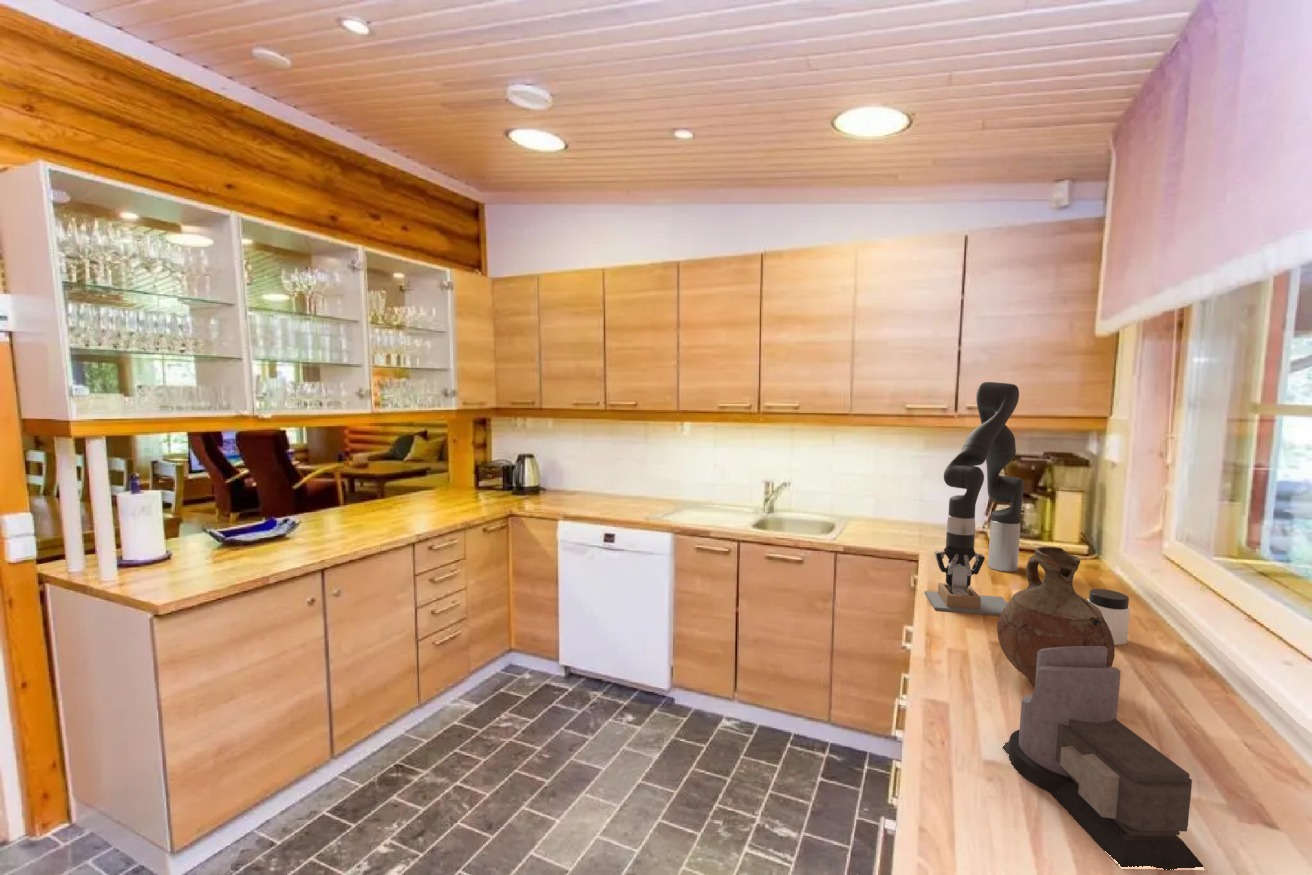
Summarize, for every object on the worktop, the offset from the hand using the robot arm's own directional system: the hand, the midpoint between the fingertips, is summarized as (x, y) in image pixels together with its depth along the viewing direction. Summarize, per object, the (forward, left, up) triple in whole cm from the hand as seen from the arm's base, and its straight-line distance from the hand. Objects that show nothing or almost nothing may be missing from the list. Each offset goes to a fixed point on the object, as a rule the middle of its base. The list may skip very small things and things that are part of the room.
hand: (957, 585), depth 177 cm
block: (+2, 0, -3) cm, 4 cm away
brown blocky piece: (+86, -2, -5) cm, 86 cm away
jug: (+48, +7, -5) cm, 48 cm away
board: (+2, +3, -5) cm, 6 cm away
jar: (+19, +31, -5) cm, 37 cm away
